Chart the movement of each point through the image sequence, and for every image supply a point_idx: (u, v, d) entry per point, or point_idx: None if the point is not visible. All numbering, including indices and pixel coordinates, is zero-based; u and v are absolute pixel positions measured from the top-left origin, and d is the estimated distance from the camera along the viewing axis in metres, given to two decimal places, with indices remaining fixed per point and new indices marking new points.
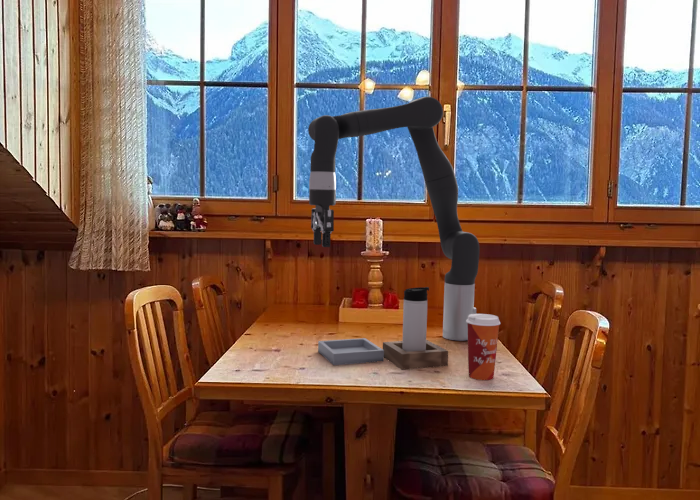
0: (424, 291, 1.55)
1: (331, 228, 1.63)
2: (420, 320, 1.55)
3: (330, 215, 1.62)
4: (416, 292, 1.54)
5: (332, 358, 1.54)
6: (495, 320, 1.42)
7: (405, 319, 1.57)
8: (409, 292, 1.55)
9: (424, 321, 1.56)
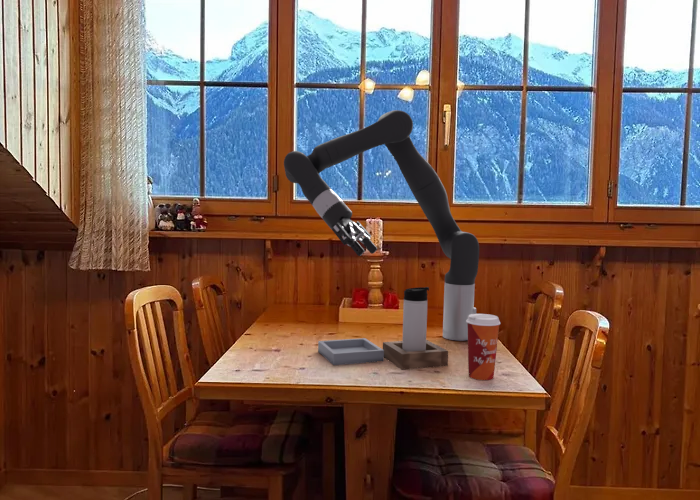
0: (424, 291, 1.55)
1: (346, 238, 1.57)
2: (420, 320, 1.55)
3: (338, 229, 1.58)
4: (416, 292, 1.54)
5: (332, 358, 1.54)
6: (495, 320, 1.42)
7: (405, 319, 1.57)
8: (409, 292, 1.55)
9: (424, 321, 1.56)
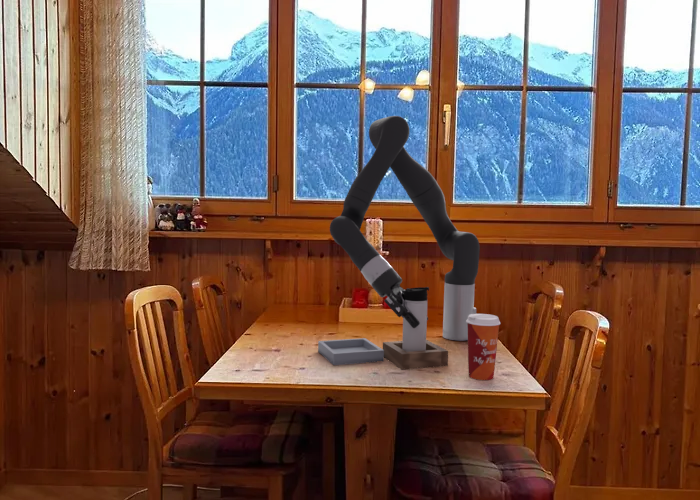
0: (424, 291, 1.55)
1: (402, 311, 1.53)
2: (420, 320, 1.55)
3: (391, 301, 1.53)
4: (416, 292, 1.54)
5: (332, 358, 1.54)
6: (495, 320, 1.42)
7: (405, 319, 1.57)
8: (409, 292, 1.55)
9: (424, 321, 1.56)
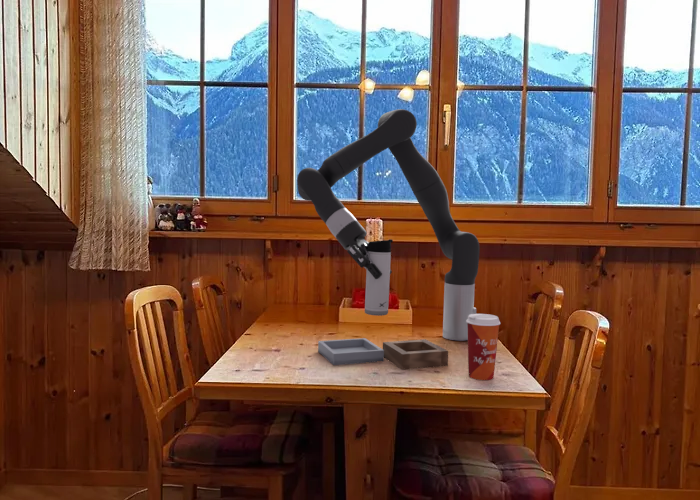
0: (387, 243, 1.56)
1: (364, 261, 1.54)
2: (383, 272, 1.56)
3: (354, 251, 1.54)
4: (379, 243, 1.55)
5: (332, 358, 1.54)
6: (495, 320, 1.42)
7: None
8: (372, 243, 1.56)
9: (387, 273, 1.57)
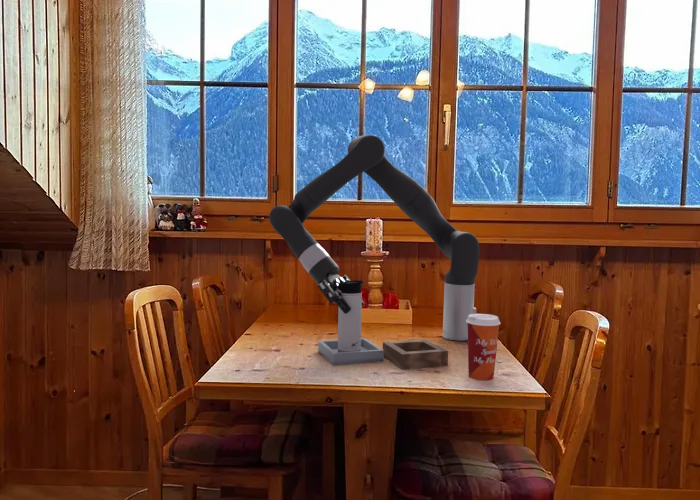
0: (357, 284, 1.59)
1: (332, 296, 1.56)
2: (353, 312, 1.59)
3: (324, 286, 1.57)
4: (349, 285, 1.58)
5: (332, 358, 1.54)
6: (495, 320, 1.42)
7: (340, 311, 1.60)
8: (343, 285, 1.59)
9: (358, 313, 1.60)
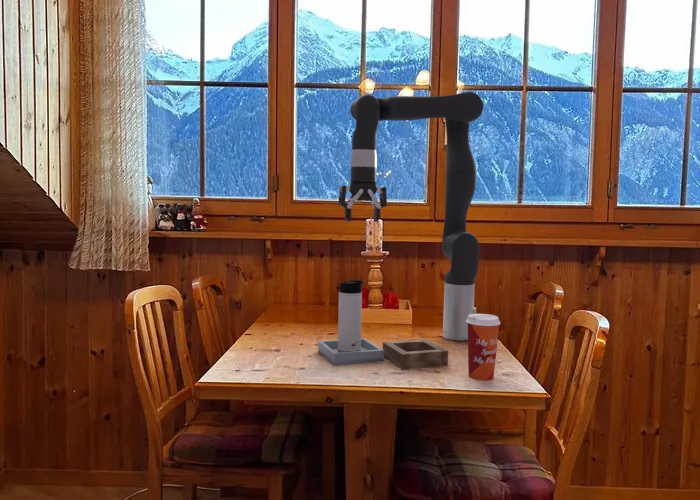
0: (358, 284, 1.59)
1: (340, 203, 1.72)
2: (354, 312, 1.59)
3: (341, 190, 1.72)
4: (349, 284, 1.58)
5: (332, 358, 1.54)
6: (495, 320, 1.42)
7: (340, 311, 1.60)
8: (343, 285, 1.59)
9: (358, 313, 1.60)
